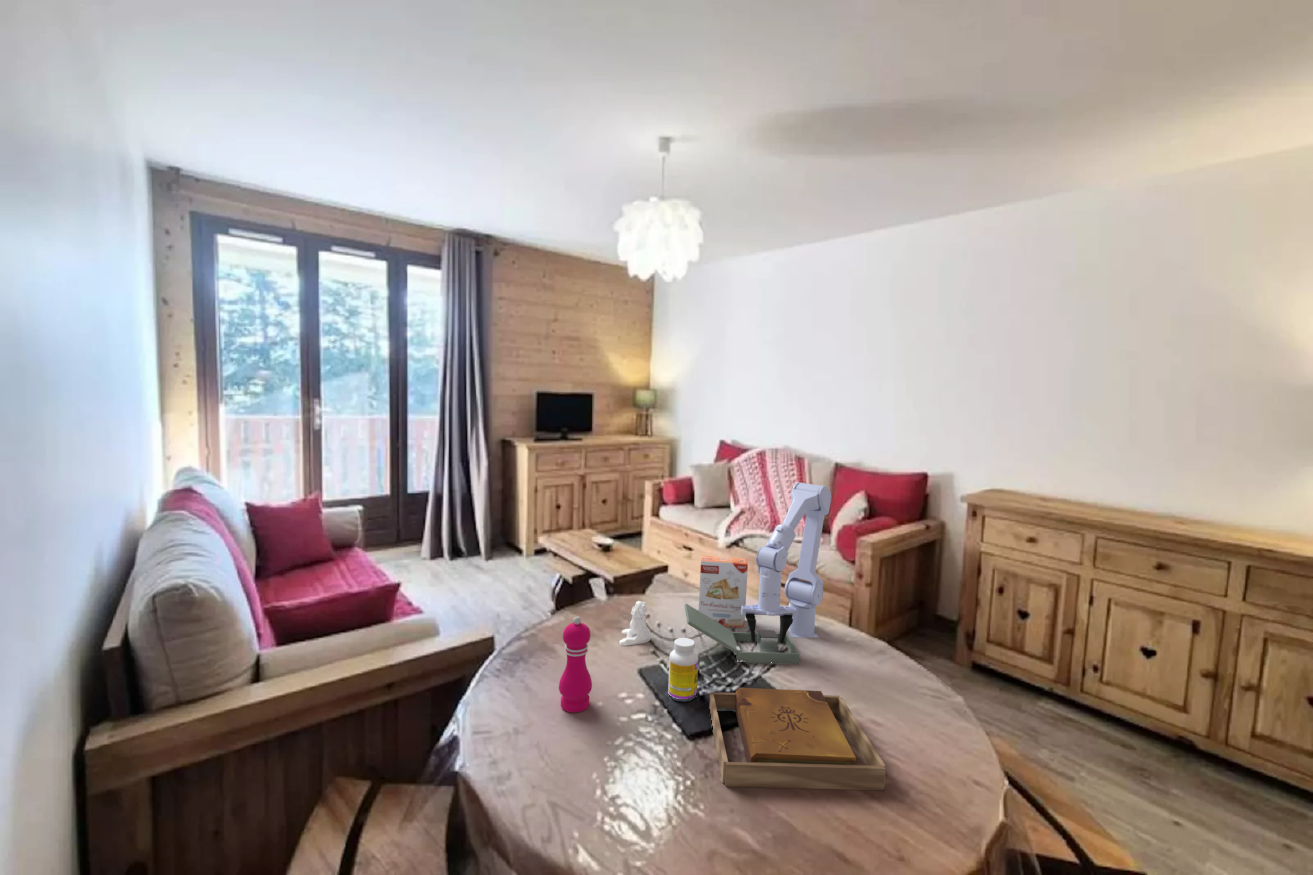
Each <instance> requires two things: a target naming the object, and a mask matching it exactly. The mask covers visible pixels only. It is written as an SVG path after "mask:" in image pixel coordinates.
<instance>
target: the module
mask: <svg viewBox="0 0 1313 875" xmlns="http://www.w3.org/2000/svg"><path fill="white" fill-rule="evenodd" d="M757 633H758V635H757V642H756V649H757V652H776V653H778V645H779V644H778V643H779V642H778V637H777V635H776V633H777V632H776V631H775V630H770V629H768V630H767V629H759V630H758V629H757Z"/></svg>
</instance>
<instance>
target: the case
mask: <svg viewBox="0 0 1313 875" xmlns="http://www.w3.org/2000/svg"><path fill="white" fill-rule="evenodd" d="M684 610H685V611H684V612H685V617H686V618H685V619H686V624H687V625H689V626H690V627H692V628H693V629H695V630H697V631H698V632H700V633H701V634H703V635H705V636H707V637H709V638H710V639H712V640H713V641H715V642H716V643H718V644H719V645H722V646H723V647H725V648H726V649H728V650H730V651H731V652H733V654H734V656H735V655H736V657H737V659H740V660H743V661H745V662H747V663H746V664H766V665H767V664H768V663H771V662H772V663H773V664H774V665H776V664H777V665H778V664H779V665H799V664H800V652H799V651H798V650H797V647H796V646H795V644H794V643H793V640H792V639H791V636H790V635H789V634H788V633H786V636H785V639H784V643H785V645H786V646H787V648H788V651H789V652H777V653H776V652H758V651H741V647H740V646H739V645H738V644H737V642H751V643H753V642H752V641H751V634H750V631H749V632H744V631H743V632H742V631H732V630H731V629H729V628H727V626H723V625H721V624H719V623H718V622H716V621H714V620H713V619H711V618H709V617H708V616H706V615H704V614H703V613H701V612H699V611H698V610H699V609H698V610H697V609H696V608H694V607H693V606H691V605H690V604H687V603H685V604H684ZM775 633H776V635H777V637H778V643H780V641H779V633H780V632H775ZM757 635H758V632H755V642H754V643H757ZM773 664H772V665H773ZM768 665H769V664H768Z"/></svg>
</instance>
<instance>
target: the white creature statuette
mask: <svg viewBox="0 0 1313 875" xmlns="http://www.w3.org/2000/svg"><path fill="white" fill-rule="evenodd" d="M647 611H648V607H647V602H646V601H645V600H644V601H641V600H637V601H636V602H635V604H634V606H632V607H631V612H630V615H631V621H630V622H629V628H625V629H623V630H622V631H621V634H622V635H625V636H626V637H624V638H622V639H620V640H619V642H618V643H619V645H620V646H622V647H624V646H625V647H627V646H635V645H639V644H640V645H641V644H646V643H649V641H650V640H651V639H652V633H651V630H650V629H649V627H648V626H647V622H646V621H647V620H646V618H645V616H646V613H647Z"/></svg>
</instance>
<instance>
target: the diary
mask: <svg viewBox="0 0 1313 875" xmlns="http://www.w3.org/2000/svg"><path fill="white" fill-rule="evenodd" d="M735 693H736V705H735V710H736V712H735V715H736V719H737V723H738V728H739V733H740V737H741V742H742V746H743V752H744V755H745V760H746V762H749V763H790V764H830V765H852V764H851V763H856V759H857V758H856V755H855V753H854V751H853V749H852V747H851V745H850V744H849V742H848V740H847V738H846V736H845V734H844V732H843V730H842V728H841V726H840V724H839V722H838V720H837V719H836V717H835V715H833V713H832V711H831V709H830V707H829V705H828V703H827V701H826V699H825V698H824V696H823V695H824V694H823V692H822V690H806V689H805V690H804V689H802V690H801V689H800V690H799V689H782V688H781V689H780V688H778V689H777V688H759V687H757V688H756V687H753V688H752V687H739V688H737V690H736V691H735Z"/></svg>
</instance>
